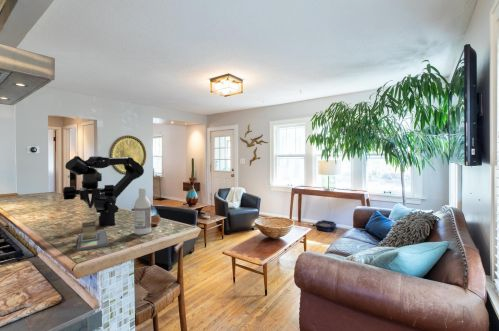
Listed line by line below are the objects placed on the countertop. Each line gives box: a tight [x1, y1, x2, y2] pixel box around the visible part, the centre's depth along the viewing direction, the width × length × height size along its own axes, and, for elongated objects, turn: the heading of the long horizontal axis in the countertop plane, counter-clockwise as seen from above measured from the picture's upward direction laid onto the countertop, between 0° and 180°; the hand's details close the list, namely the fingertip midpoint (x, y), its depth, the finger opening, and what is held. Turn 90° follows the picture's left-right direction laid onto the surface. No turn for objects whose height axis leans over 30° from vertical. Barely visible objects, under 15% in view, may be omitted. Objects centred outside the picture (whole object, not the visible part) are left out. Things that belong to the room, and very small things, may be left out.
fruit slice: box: [151, 214, 161, 227], centre depth 121 cm, size 8×7×5 cm
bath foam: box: [133, 187, 152, 236], centre depth 109 cm, size 7×7×20 cm
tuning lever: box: [81, 221, 96, 240], centre depth 94 cm, size 2×4×9 cm
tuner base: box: [76, 230, 109, 252], centre depth 98 cm, size 20×10×4 cm, turn 32°
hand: (90, 207), depth 103 cm, fingers closed
